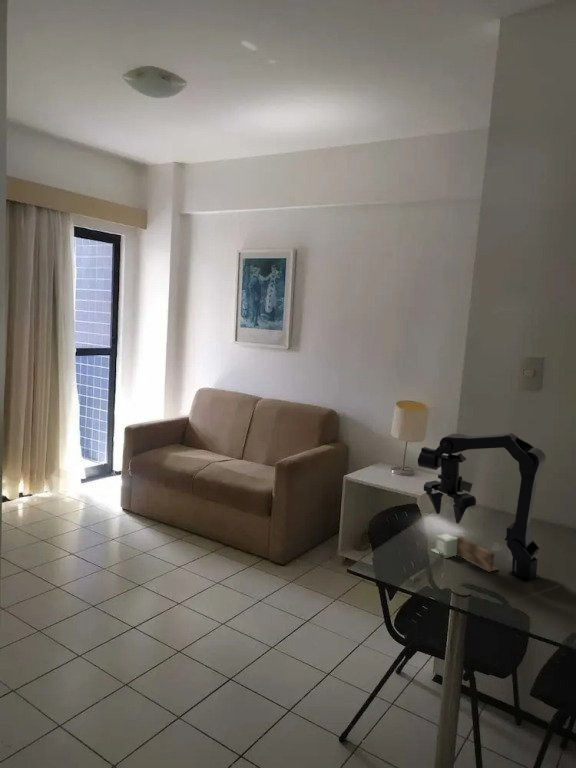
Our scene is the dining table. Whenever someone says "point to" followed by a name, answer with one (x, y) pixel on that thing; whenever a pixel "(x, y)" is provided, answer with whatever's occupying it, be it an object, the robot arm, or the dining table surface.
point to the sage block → (446, 544)
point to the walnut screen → (476, 554)
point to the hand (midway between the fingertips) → (447, 518)
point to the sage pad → (437, 551)
